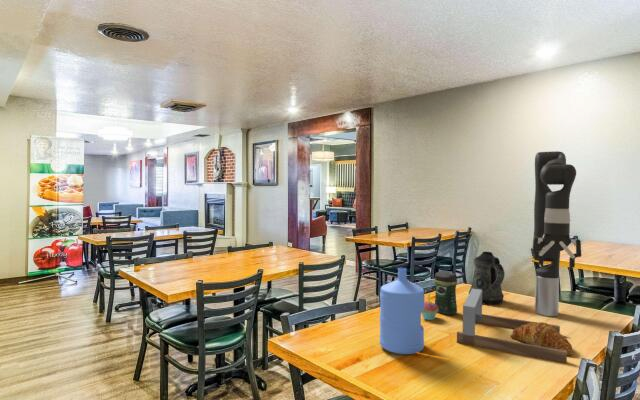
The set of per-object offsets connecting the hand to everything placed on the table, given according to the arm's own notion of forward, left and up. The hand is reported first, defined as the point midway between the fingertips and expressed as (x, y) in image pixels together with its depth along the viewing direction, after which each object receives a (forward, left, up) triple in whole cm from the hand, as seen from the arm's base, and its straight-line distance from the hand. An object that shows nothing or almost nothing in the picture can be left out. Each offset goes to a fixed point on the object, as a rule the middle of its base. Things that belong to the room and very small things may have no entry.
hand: (556, 267), depth 131 cm
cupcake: (-12, -46, -30) cm, 56 cm away
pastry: (-4, -3, -30) cm, 30 cm away
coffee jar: (-24, -41, -30) cm, 56 cm away
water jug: (+23, -48, -30) cm, 61 cm away
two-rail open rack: (-4, -13, -29) cm, 32 cm away
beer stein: (-54, -25, -30) cm, 66 cm away
